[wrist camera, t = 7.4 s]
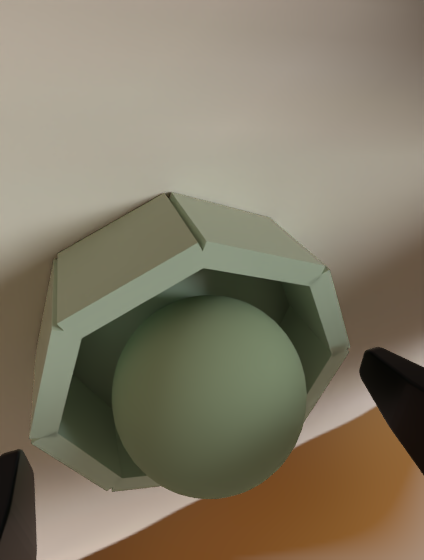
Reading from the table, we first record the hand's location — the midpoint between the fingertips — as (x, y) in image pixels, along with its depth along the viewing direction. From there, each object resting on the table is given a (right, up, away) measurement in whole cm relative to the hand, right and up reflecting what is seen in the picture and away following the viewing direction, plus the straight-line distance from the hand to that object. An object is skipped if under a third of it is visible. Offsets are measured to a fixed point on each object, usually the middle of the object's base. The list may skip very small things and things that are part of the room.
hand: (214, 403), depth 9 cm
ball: (0, 0, 0) cm, 0 cm away
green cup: (-1, +2, +3) cm, 4 cm away
